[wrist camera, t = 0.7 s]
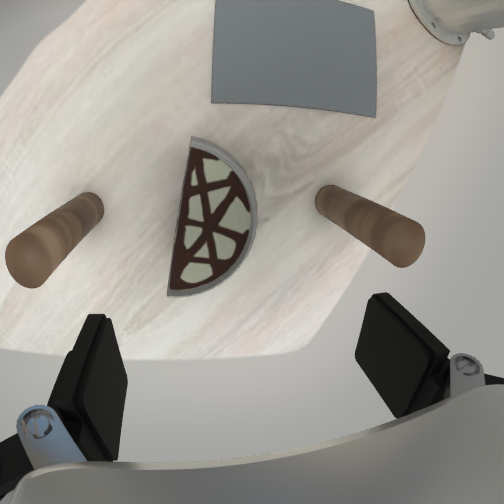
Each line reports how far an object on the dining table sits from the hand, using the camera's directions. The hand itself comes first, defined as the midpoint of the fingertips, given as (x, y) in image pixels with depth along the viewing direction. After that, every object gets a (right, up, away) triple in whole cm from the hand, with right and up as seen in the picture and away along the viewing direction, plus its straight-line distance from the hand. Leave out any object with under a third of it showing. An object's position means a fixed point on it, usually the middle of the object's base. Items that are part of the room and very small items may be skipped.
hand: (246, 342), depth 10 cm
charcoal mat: (+5, +24, +15) cm, 29 cm away
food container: (-4, +8, +20) cm, 22 cm away
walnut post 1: (-17, +7, +18) cm, 26 cm away
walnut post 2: (+9, +9, +22) cm, 26 cm away
